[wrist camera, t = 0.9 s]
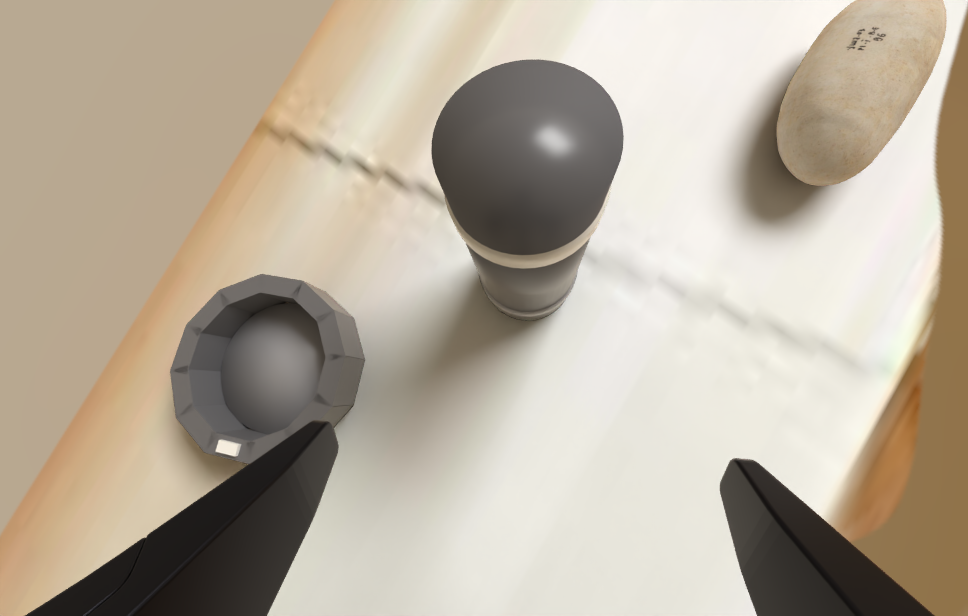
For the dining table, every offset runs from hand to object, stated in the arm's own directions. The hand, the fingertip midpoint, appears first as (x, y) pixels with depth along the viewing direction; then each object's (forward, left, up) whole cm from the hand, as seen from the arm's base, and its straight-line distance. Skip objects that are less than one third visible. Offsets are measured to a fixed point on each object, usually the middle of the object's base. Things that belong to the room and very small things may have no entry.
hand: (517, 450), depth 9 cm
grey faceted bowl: (0, +15, -13) cm, 20 cm away
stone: (+21, -15, -13) cm, 29 cm away
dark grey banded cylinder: (+8, +1, -13) cm, 15 cm away
